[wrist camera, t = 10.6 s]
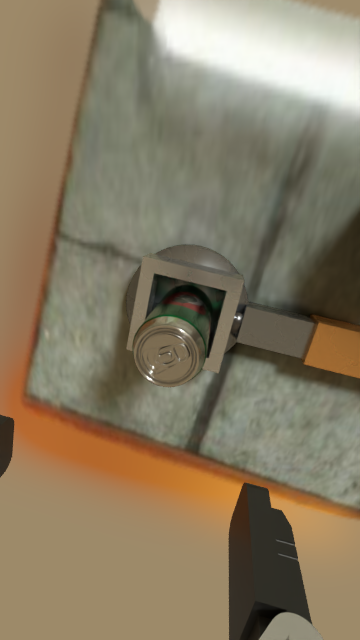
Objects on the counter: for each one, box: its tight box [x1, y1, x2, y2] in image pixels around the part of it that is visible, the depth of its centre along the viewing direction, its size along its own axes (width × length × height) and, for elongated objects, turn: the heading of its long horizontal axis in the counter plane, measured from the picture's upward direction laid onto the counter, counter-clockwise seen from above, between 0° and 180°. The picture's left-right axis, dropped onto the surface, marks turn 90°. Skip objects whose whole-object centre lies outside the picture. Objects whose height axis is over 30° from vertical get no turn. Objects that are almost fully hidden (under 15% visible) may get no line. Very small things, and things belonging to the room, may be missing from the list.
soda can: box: [132, 285, 213, 387], centre depth 27 cm, size 5×5×12 cm
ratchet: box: [126, 245, 360, 378], centre depth 32 cm, size 28×12×4 cm, turn 77°
